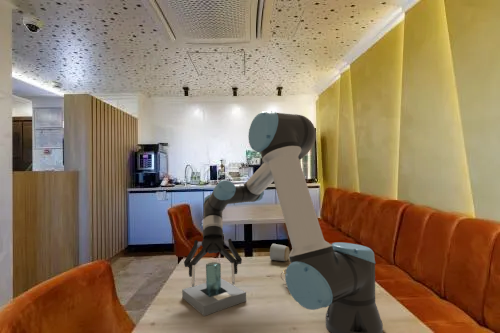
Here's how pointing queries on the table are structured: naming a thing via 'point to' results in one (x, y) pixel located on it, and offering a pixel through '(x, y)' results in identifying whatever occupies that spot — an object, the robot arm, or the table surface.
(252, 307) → the table surface
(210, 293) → the teal cylinder
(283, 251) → the ceramic mug
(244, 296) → the socket block
